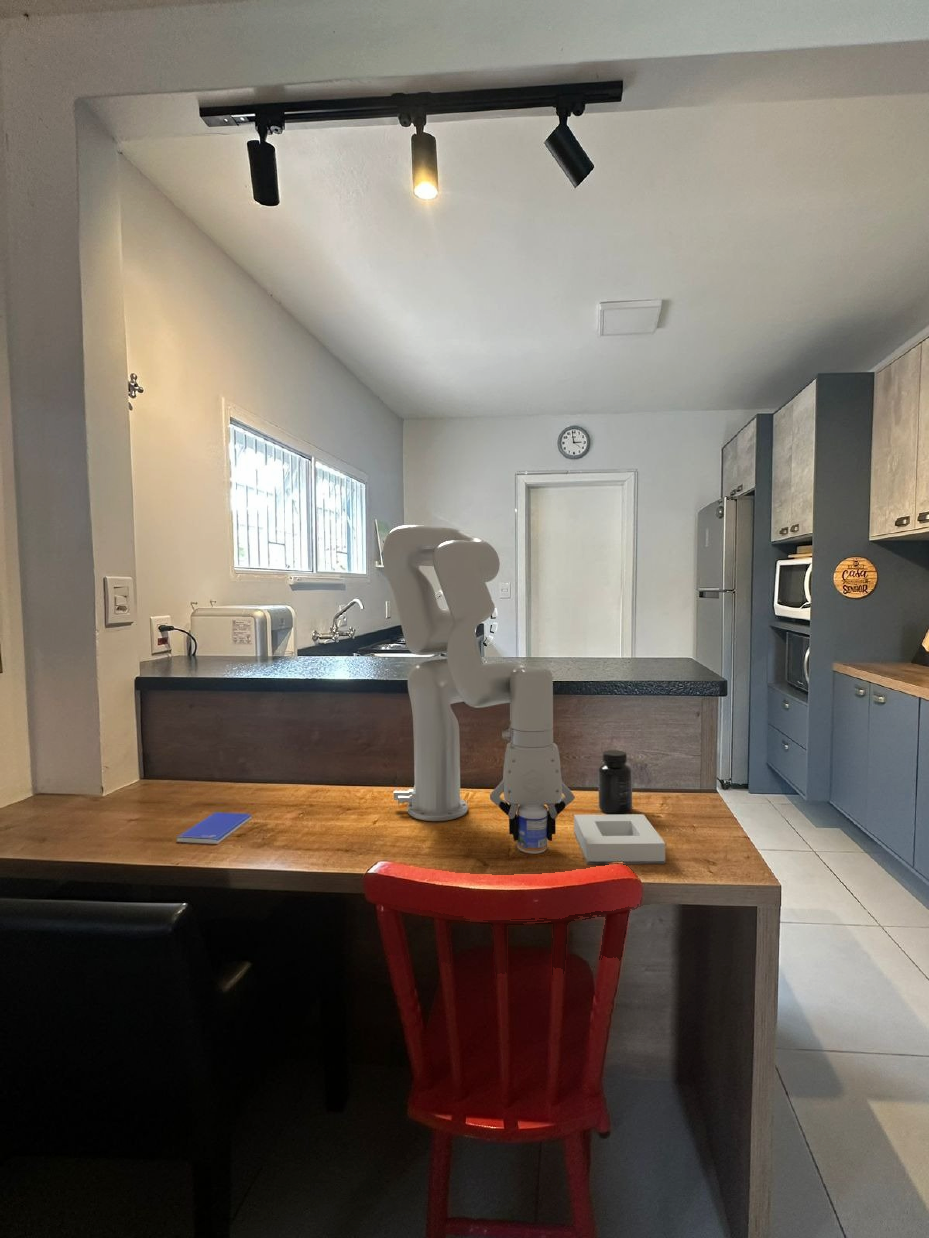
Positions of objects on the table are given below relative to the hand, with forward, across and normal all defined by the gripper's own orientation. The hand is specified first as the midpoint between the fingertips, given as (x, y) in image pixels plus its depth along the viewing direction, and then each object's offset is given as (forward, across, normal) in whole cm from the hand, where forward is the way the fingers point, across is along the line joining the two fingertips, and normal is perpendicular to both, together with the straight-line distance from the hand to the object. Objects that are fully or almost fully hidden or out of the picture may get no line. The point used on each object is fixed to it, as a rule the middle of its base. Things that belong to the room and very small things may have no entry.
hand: (532, 836), depth 108 cm
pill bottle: (+2, 0, 0) cm, 2 cm away
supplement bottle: (+2, +19, +18) cm, 27 cm away
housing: (+2, +15, 0) cm, 15 cm away
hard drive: (+3, -61, +9) cm, 62 cm away
